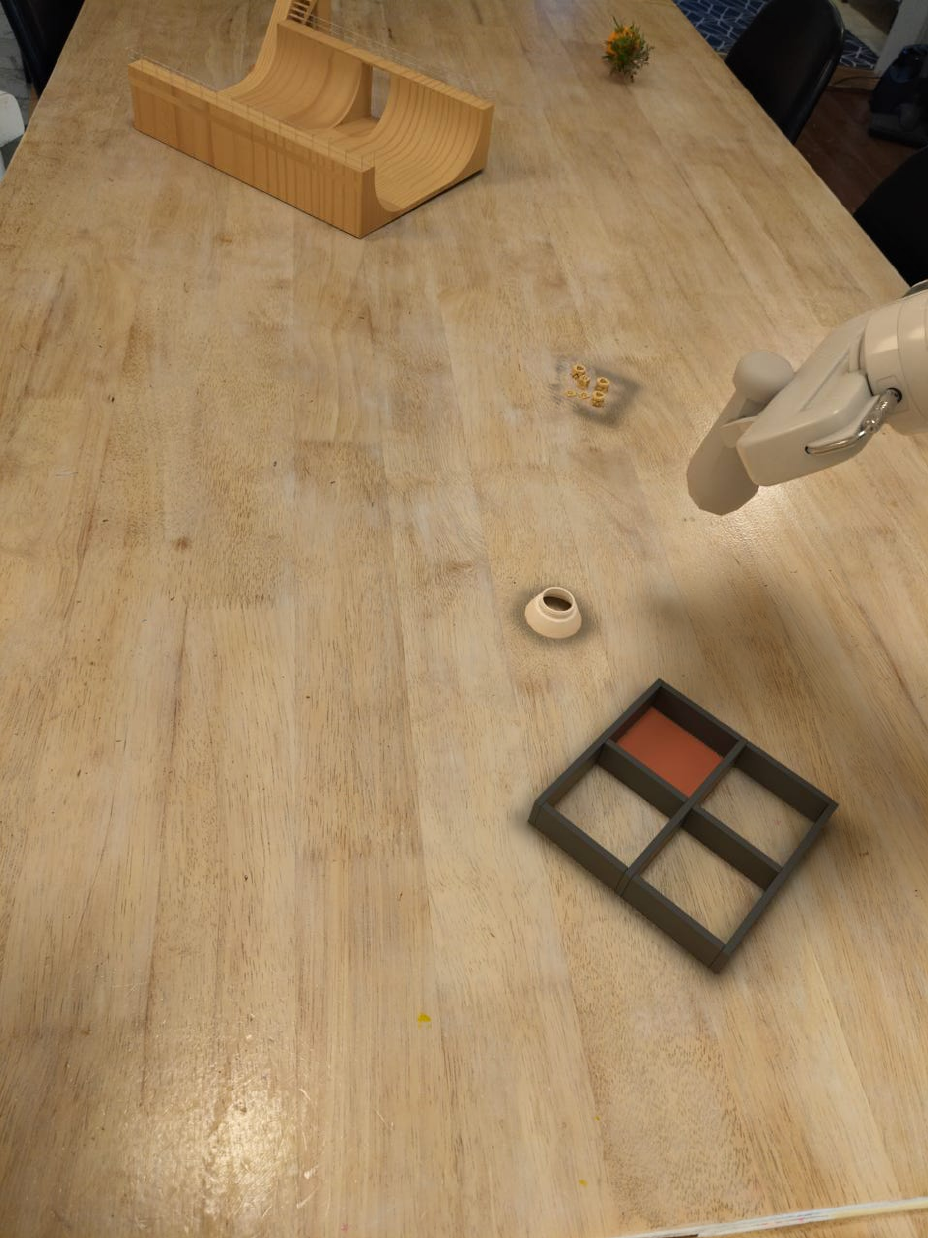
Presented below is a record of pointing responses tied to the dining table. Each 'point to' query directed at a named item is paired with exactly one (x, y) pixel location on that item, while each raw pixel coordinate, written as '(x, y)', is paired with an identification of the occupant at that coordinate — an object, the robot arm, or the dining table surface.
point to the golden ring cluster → (584, 382)
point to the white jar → (553, 615)
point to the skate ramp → (321, 124)
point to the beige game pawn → (719, 468)
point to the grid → (680, 807)
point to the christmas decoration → (626, 49)
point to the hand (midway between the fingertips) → (737, 421)
